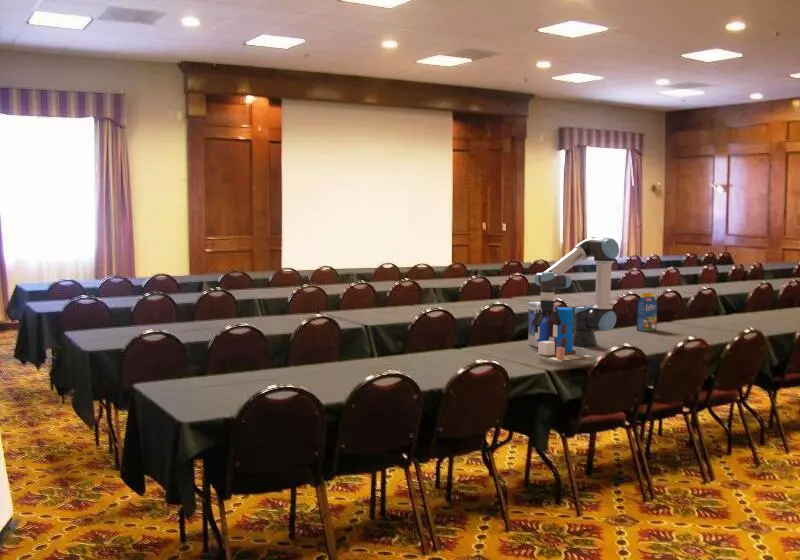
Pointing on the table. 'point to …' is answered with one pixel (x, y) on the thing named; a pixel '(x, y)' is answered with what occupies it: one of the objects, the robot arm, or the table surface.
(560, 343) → the thermos
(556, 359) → the board
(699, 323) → the table surface
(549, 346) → the white tilted cube
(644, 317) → the blue food package
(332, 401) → the table surface
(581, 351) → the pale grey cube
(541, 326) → the string lights box
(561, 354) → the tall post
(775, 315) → the table surface
